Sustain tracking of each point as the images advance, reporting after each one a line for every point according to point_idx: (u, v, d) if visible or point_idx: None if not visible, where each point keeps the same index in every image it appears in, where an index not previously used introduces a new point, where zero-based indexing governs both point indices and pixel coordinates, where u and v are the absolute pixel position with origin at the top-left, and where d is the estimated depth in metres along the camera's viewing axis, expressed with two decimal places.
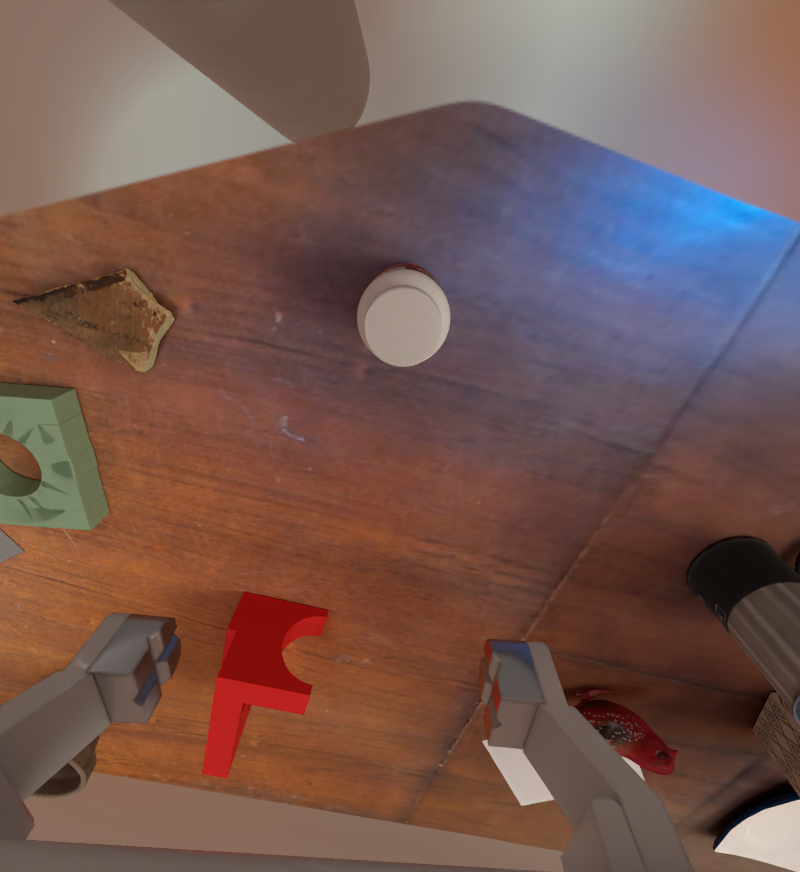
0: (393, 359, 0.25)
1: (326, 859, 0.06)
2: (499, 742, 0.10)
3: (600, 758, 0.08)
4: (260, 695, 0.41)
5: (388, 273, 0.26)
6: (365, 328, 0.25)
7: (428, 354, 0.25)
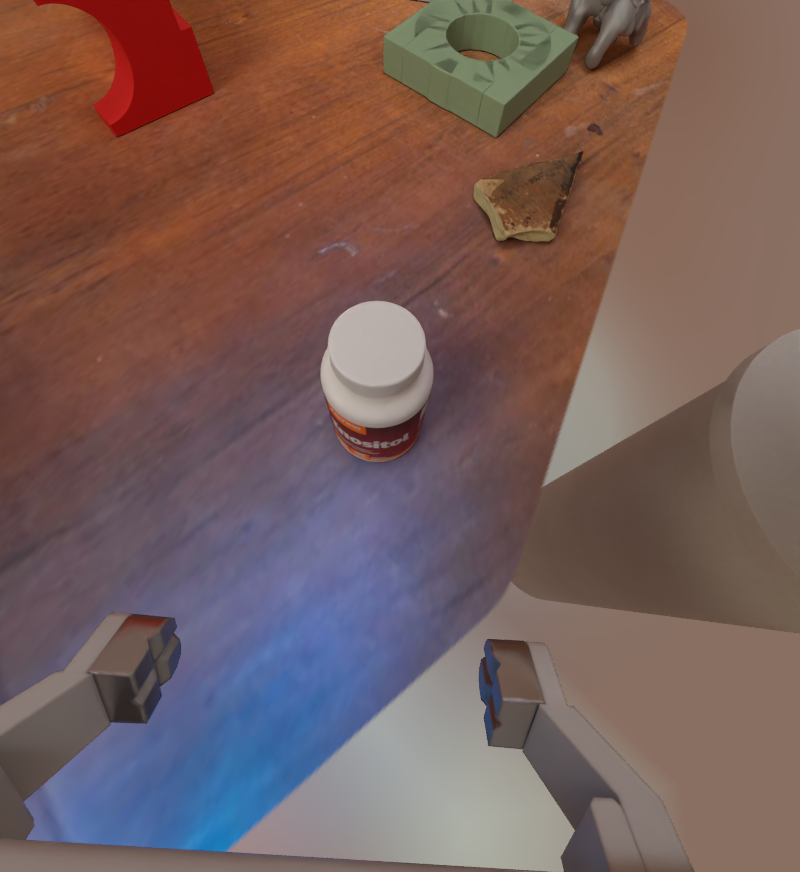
0: (353, 313, 0.20)
1: (326, 859, 0.06)
2: (499, 742, 0.10)
3: (600, 758, 0.08)
4: None
5: (431, 385, 0.22)
6: (403, 309, 0.20)
7: (331, 348, 0.19)
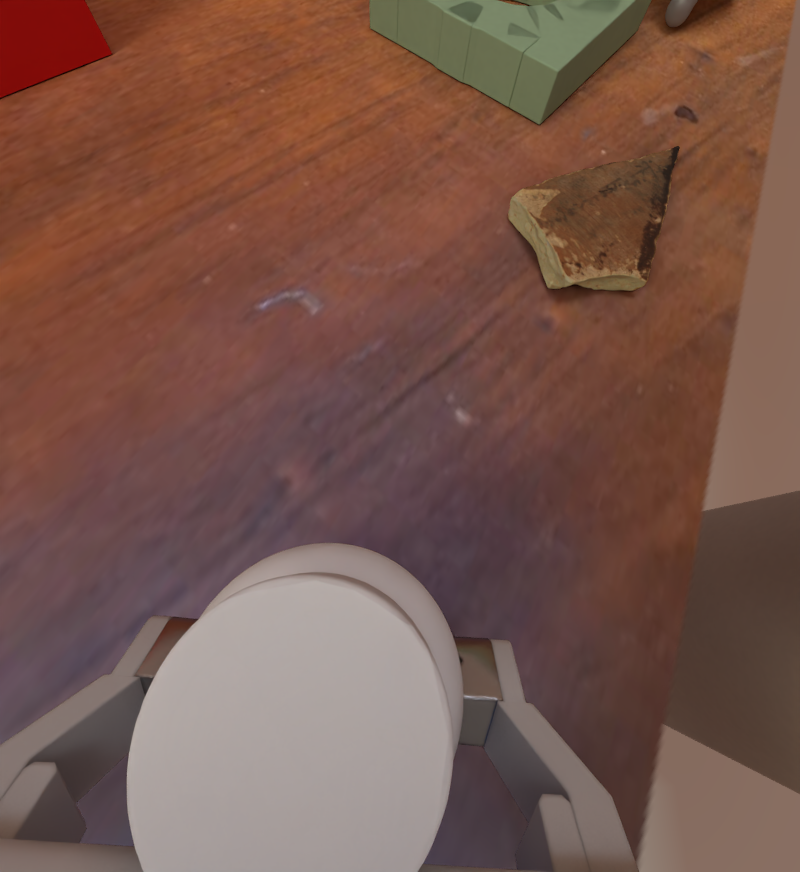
0: (223, 628, 0.06)
1: None
2: (460, 740, 0.10)
3: (553, 755, 0.08)
4: None
5: (458, 738, 0.09)
6: (384, 610, 0.07)
7: (133, 784, 0.06)
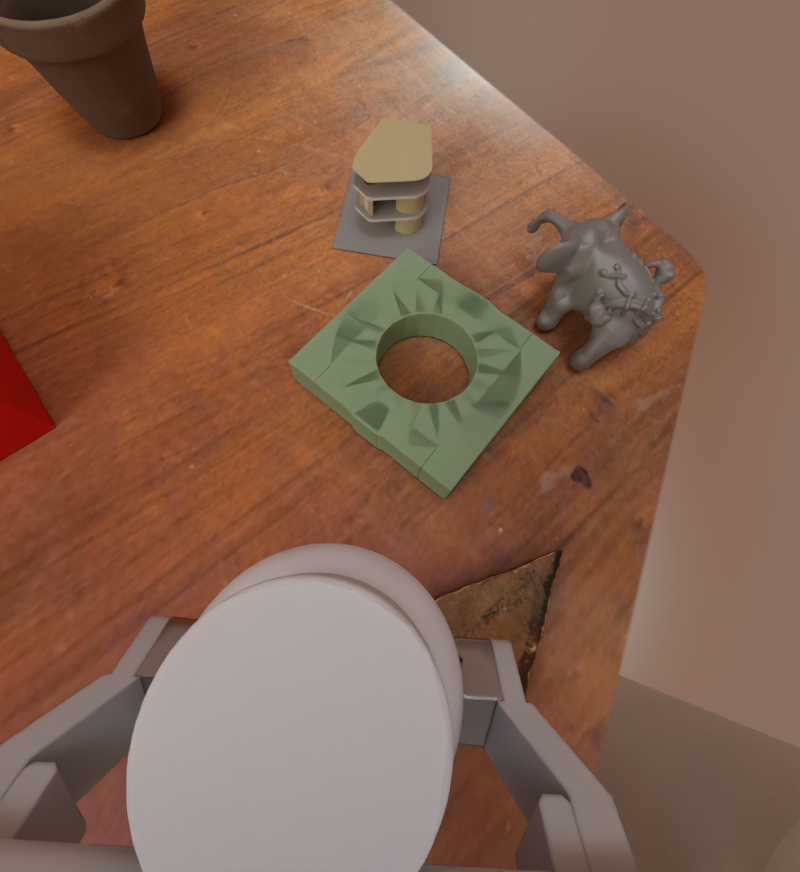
0: (224, 629, 0.06)
1: None
2: (460, 740, 0.10)
3: (553, 755, 0.08)
4: None
5: (458, 739, 0.09)
6: (384, 610, 0.07)
7: (133, 784, 0.06)
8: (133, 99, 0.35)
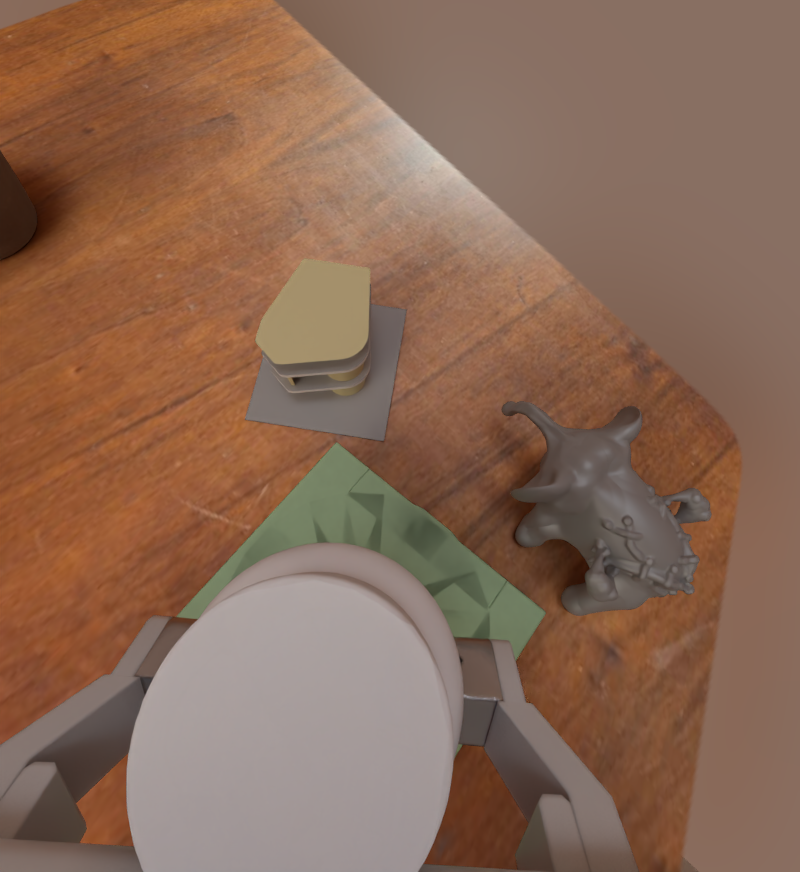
0: (224, 627, 0.06)
1: None
2: (460, 740, 0.10)
3: (553, 755, 0.08)
4: None
5: (458, 738, 0.09)
6: (384, 609, 0.07)
7: (133, 783, 0.06)
8: None
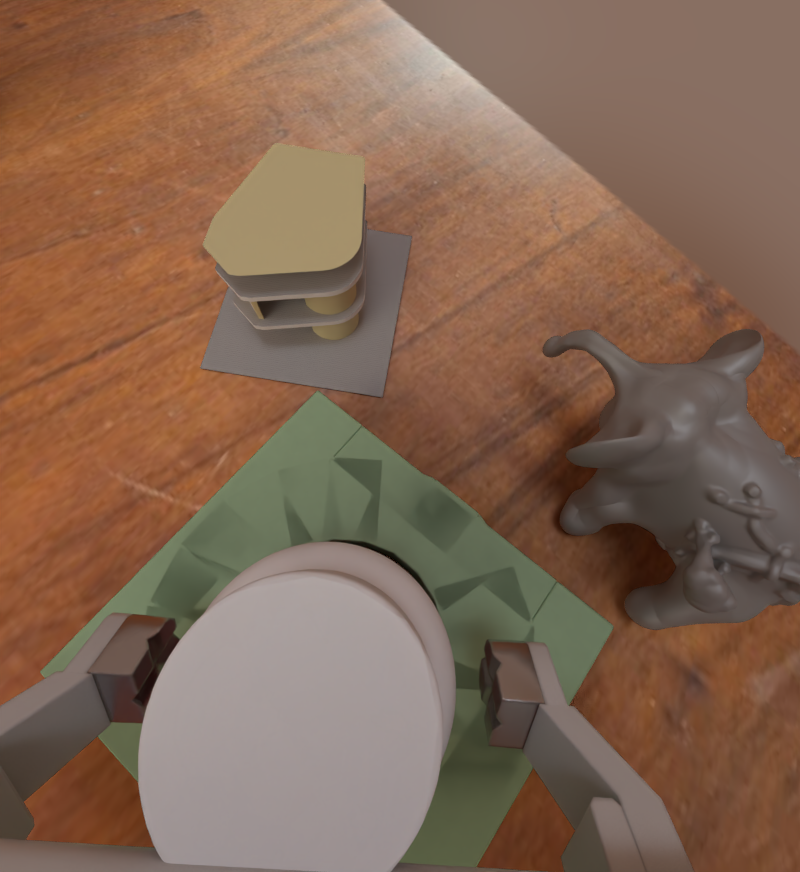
0: (228, 621, 0.07)
1: None
2: (499, 742, 0.10)
3: (600, 758, 0.08)
4: None
5: (451, 728, 0.09)
6: (379, 604, 0.07)
7: (144, 765, 0.06)
8: None
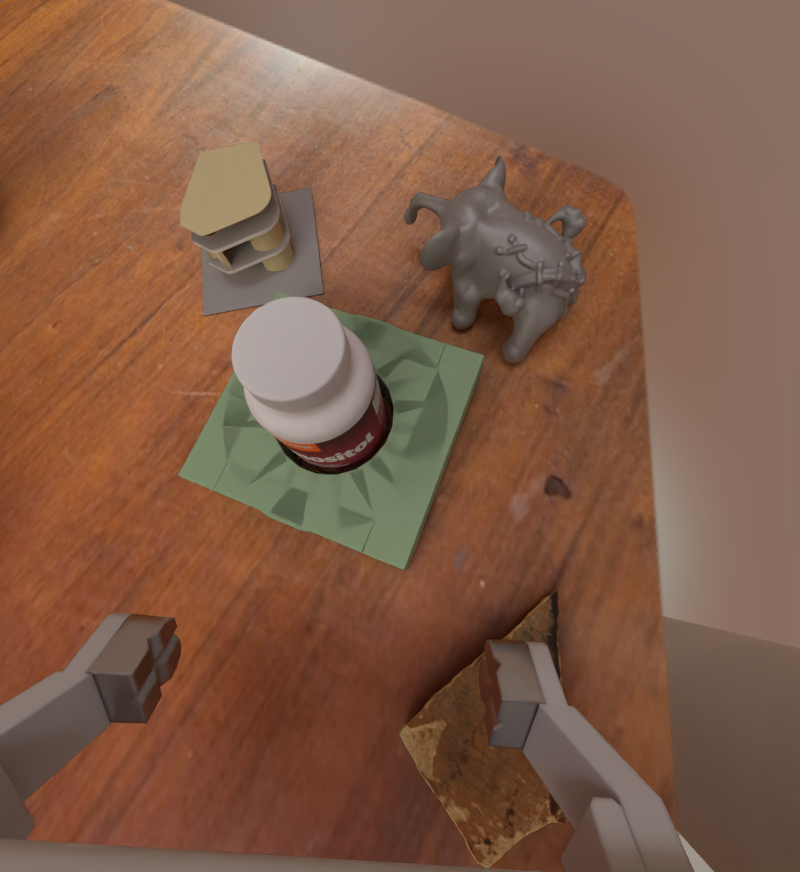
0: (251, 323, 0.17)
1: (326, 859, 0.06)
2: (499, 742, 0.10)
3: (600, 757, 0.08)
4: None
5: (371, 373, 0.19)
6: (307, 299, 0.17)
7: (237, 371, 0.16)
8: None
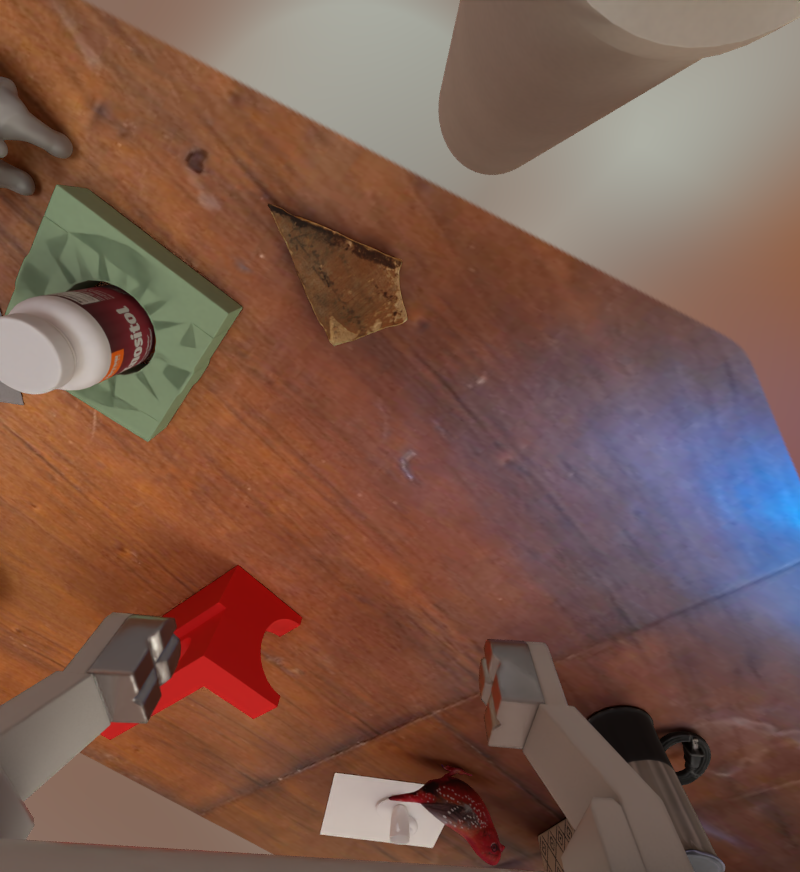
0: (1, 376, 0.25)
1: (326, 859, 0.06)
2: (499, 742, 0.10)
3: (600, 758, 0.08)
4: (229, 687, 0.39)
5: (54, 299, 0.26)
6: None
7: (39, 392, 0.25)
8: None
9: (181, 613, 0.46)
